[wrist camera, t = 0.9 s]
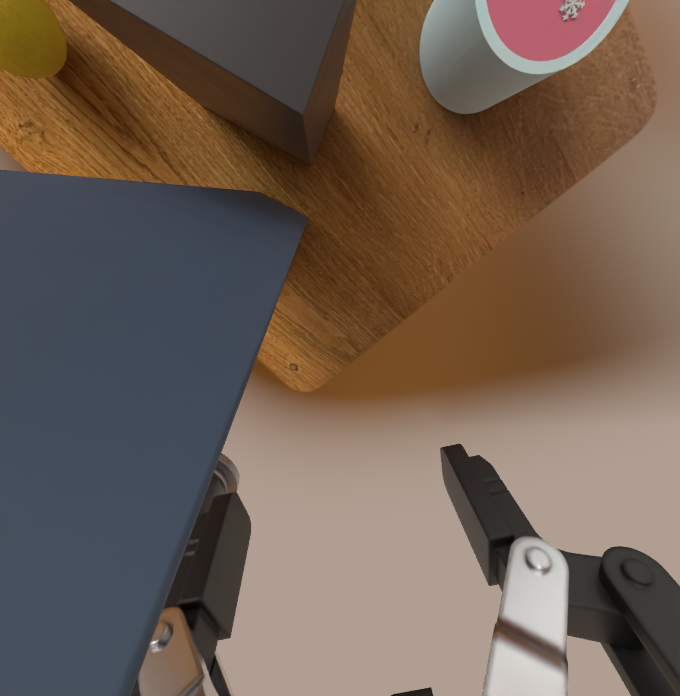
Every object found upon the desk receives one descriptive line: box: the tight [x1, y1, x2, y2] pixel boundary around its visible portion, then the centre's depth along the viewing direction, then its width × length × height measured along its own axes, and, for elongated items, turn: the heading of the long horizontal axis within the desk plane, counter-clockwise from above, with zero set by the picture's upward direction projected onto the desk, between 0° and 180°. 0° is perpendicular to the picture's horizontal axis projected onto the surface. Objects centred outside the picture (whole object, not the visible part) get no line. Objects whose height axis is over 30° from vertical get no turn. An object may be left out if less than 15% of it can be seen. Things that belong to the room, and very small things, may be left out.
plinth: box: [69, 0, 356, 166], centre depth 18 cm, size 5×10×20 cm, turn 64°
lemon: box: [0, 0, 67, 78], centre depth 21 cm, size 6×6×8 cm
